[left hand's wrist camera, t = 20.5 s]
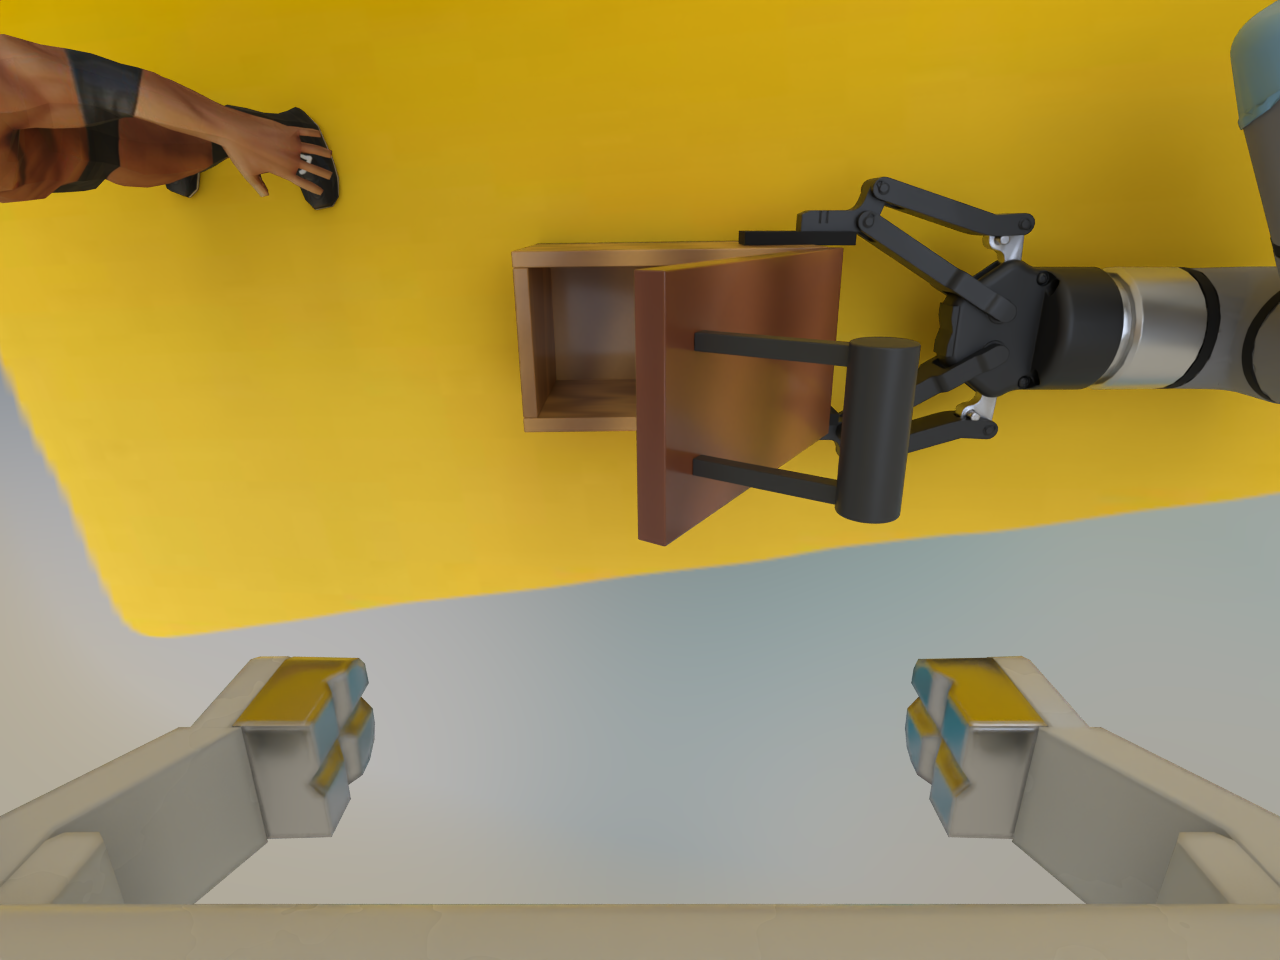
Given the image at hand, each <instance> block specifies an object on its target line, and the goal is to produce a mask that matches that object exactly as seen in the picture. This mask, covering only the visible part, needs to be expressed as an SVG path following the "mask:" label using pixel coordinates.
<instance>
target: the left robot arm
mask: <svg viewBox="0 0 1280 960" xmlns="http://www.w3.org/2000/svg"><path fill="white" fill-rule="evenodd" d="M368 683H369V682H368V677H367V672H366V667H365V663H364V662H363V661H361V660H360V659H359V658H332V657H288V656H282V657H257V658H254V659H251V660H250V661H249V662H248V663H247V664H246V665H245V666H244V667H243V669H242V670H241V671H240V672H239V673H238V674H237V675H236V676H235V678H234V679H233V680H232V681H231V682H230V683H229V684H228V686H227V687H226V688H225V689H224V690H223V691H222V692H221V693H220V694H219V696H218V697H217V698H216V699H215V700H214V701H213V702H212V703H211V704H210V706H209V707H208V708H207V709H206V710H205V711H204V712H203V713H202V715H201V716H200V717H199V718H198V719H197V720H196V721H195V722H194V724H193V725H192V726H191V727H179V728H177V729H175V730H173V731H171V732H169V733H167V734H165V735H163V736H161V737H158V738H156V739H154V740H152V741H151V742H148V743H146V744H144V745H143V746H140V747H138V748H136V749H134V750H132V751H130V752H128V753H126V754H124V755H122V756H120V757H118V758H116V759H114V760H112V761H110V762H108V763H106V764H104V765H102V766H100V767H98V768H96V769H94V770H92V771H90V772H88V773H86V774H84V775H82V776H80V777H78V778H76V779H74V780H72V781H70V782H68V783H66V784H64V785H62V786H60V787H58V788H56V789H54V790H52V791H50V792H48V793H46V794H44V795H42V796H40V797H38V798H36V799H34V800H32V801H30V802H28V803H26V804H24V805H22V806H20V807H18V808H16V809H14V810H12V811H10V812H8V813H6V814H4V815H2V816H0V960H1280V816H1278V815H1276V814H1274V813H1272V812H1270V811H1268V810H1266V809H1264V808H1262V807H1260V806H1258V805H1256V804H1254V803H1252V802H1250V801H1248V800H1246V799H1244V798H1242V797H1240V796H1238V795H1236V794H1234V793H1232V792H1230V791H1228V790H1226V789H1224V788H1222V787H1220V786H1218V785H1216V784H1214V783H1212V782H1210V781H1208V780H1206V779H1204V778H1202V777H1200V776H1198V775H1196V774H1194V773H1192V772H1190V771H1188V770H1186V769H1184V768H1182V767H1180V766H1177V765H1175V764H1174V763H1172V762H1170V761H1168V760H1165V759H1163V758H1161V757H1159V756H1158V755H1156V754H1154V753H1151V752H1149V751H1148V750H1145V749H1143V748H1141V747H1139V746H1137V745H1135V744H1133V743H1131V742H1129V741H1127V740H1125V739H1123V738H1121V737H1119V736H1117V735H1115V734H1113V733H1111V732H1109V731H1107V730H1105V729H1103V728H1101V727H1089V726H1088V725H1087V724H1086V723H1085V721H1084V720H1083V719H1082V718H1081V717H1080V716H1079V715H1078V714H1077V712H1076V711H1075V710H1074V709H1073V708H1072V707H1071V706H1070V705H1069V703H1068V702H1067V701H1066V700H1065V699H1064V698H1063V697H1062V696H1061V694H1060V693H1059V692H1058V691H1057V690H1056V689H1055V688H1054V687H1053V685H1052V684H1051V683H1050V682H1049V681H1048V680H1047V679H1046V678H1045V676H1044V675H1043V674H1042V673H1041V672H1040V671H1039V670H1038V669H1037V667H1036V666H1035V665H1034V664H1033V663H1032V662H1031V661H1030V660H1029V659H1027V658H1024V657H1022V656H1008V657H987V658H950V659H918V661H917V663H916V665H915V667H914V670H913V676H912V682H911V683H912V685H913V687H914V688H915V690H916V692H917V694H918V696H919V697H918V698H917V699H916V700H915V701H914V702H913V703H912V704H911V705H910V706H909V707H908V709H907V716H906V724H905V732H906V743H907V749H908V753H909V756H910V760H911V762H912V764H913V767H914V769H915V771H916V773H917V775H918V776H920V777H921V778H923V779H924V780H926V781H927V782H928V783H930V784H931V785H932V786H931V792H930V798H929V799H930V801H931V803H932V805H933V807H934V809H935V811H936V813H937V815H938V817H939V819H940V821H941V823H942V825H943V827H944V829H945V831H946V833H947V835H948V837H966V838H1001V839H1013V840H1012V842H1013V843H1014V844H1015V845H1017V846H1018V847H1019V848H1020V849H1021V850H1023V851H1024V852H1025V853H1026V854H1027V855H1029V856H1030V857H1031V858H1032V859H1033V860H1034V861H1036V862H1037V863H1038V864H1039V865H1040V866H1042V867H1043V868H1044V869H1045V870H1046V871H1048V872H1049V873H1050V874H1051V875H1052V876H1054V877H1055V878H1056V879H1057V880H1058V881H1060V882H1061V883H1062V884H1063V885H1064V886H1066V887H1067V888H1068V889H1069V890H1070V891H1071V892H1073V893H1074V894H1075V895H1076V896H1077V897H1079V898H1080V899H1081V900H1082V901H1083V902H1085V903H1086V904H194V903H196V902H197V901H198V900H199V899H200V898H202V897H203V896H204V895H205V894H206V893H208V892H209V891H210V890H211V889H212V888H213V887H215V886H216V885H217V884H218V883H220V882H221V881H222V880H223V879H224V878H225V877H227V876H228V875H229V874H230V873H231V872H233V871H234V870H235V869H236V868H237V867H239V866H240V865H241V864H242V863H243V862H245V861H246V860H247V859H248V858H249V857H251V856H252V855H253V854H254V853H255V852H257V851H258V850H259V849H260V848H261V847H263V846H264V845H265V844H266V843H267V842H268V841H267V839H278V838H313V837H332V835H333V833H334V831H335V829H336V827H337V825H338V823H339V821H340V819H341V817H342V815H343V813H344V811H345V809H346V807H347V805H348V803H349V801H350V799H351V798H350V792H349V786H348V785H349V784H350V783H352V782H353V781H354V780H356V779H357V778H359V777H360V776H361V775H363V773H364V771H365V768H366V767H367V764H368V762H369V760H370V757H371V752H372V747H373V743H374V731H375V722H374V715H373V709H372V707H371V706H370V705H369V704H368V703H367V702H366V701H365V700H364V699H363V698H362V697H361V696H362V694H363V692H364V690H365V688H366V687H367V685H368Z"/></svg>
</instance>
